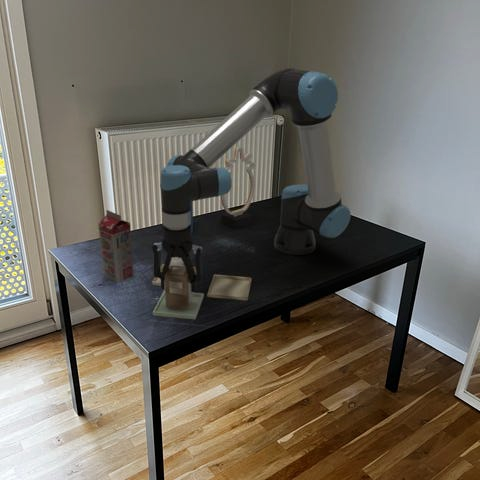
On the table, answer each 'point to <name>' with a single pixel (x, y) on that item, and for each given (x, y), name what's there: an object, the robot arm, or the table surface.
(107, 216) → the juice carton
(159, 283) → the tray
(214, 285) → the tray
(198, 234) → the table surface
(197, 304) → the tray
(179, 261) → the white dome
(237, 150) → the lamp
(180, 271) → the letter block
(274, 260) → the table surface
